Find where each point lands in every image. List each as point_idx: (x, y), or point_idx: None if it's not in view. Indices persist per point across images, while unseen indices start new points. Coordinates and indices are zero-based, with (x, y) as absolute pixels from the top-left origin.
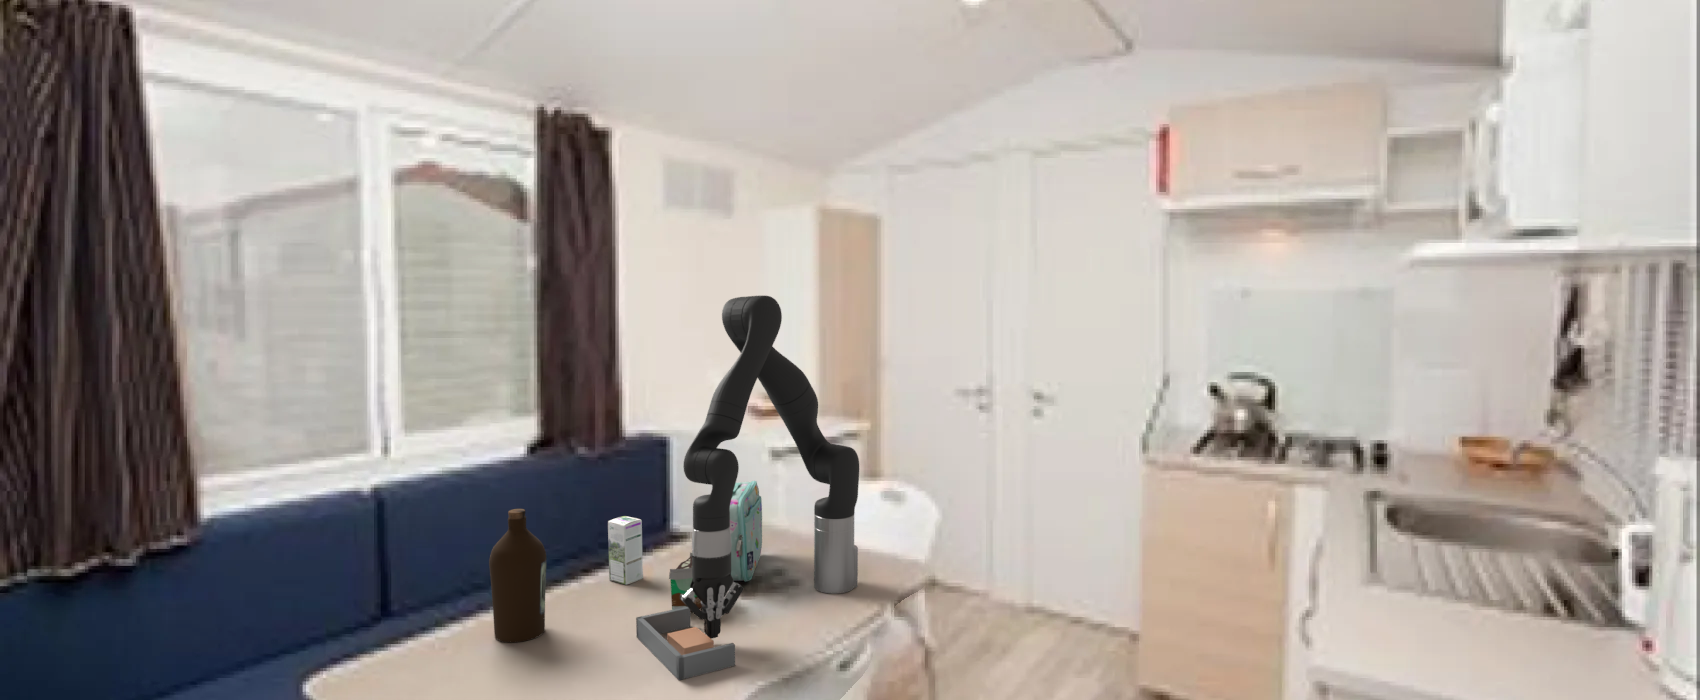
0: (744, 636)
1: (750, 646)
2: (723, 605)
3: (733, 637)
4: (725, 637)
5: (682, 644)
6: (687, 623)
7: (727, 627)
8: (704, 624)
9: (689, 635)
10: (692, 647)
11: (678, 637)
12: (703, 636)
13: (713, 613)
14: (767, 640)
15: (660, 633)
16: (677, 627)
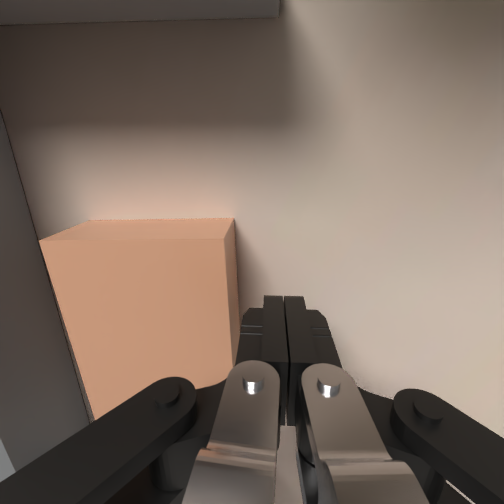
0: (442, 303)
1: (395, 389)
2: (429, 475)
3: (395, 286)
4: (366, 267)
5: (94, 390)
6: (256, 4)
7: (454, 157)
8: (238, 348)
9: (152, 323)
10: None
11: (92, 316)
12: (213, 366)
13: (301, 428)
14: (487, 381)
15: (79, 20)
16: (185, 11)
